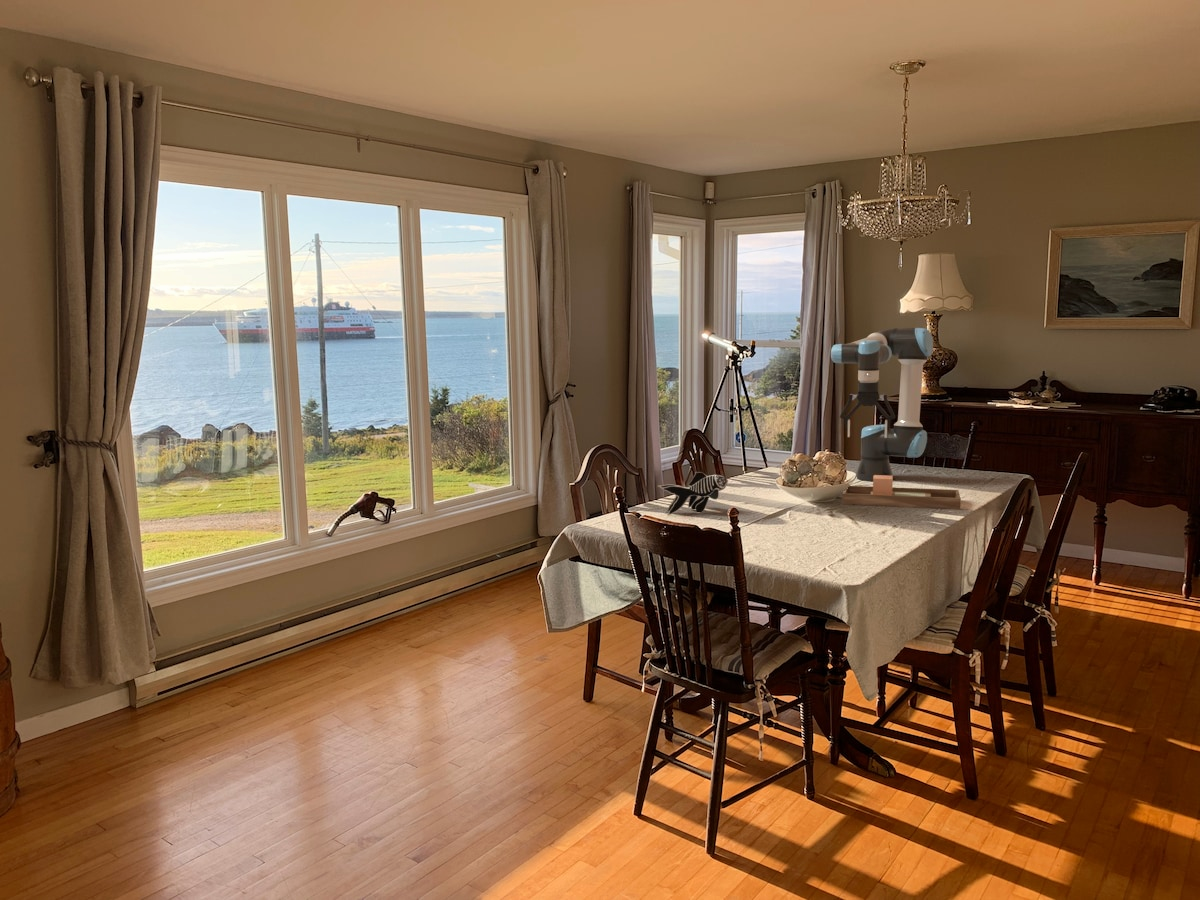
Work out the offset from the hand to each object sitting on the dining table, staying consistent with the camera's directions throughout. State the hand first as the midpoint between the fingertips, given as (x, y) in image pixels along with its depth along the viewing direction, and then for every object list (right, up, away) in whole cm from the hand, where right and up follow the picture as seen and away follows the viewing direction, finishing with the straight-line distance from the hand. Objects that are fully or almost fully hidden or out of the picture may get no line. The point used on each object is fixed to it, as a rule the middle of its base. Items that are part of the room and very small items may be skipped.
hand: (867, 437), depth 344 cm
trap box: (+13, -25, 0) cm, 28 cm away
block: (+7, -22, +2) cm, 23 cm away
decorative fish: (-67, -28, -7) cm, 73 cm away
